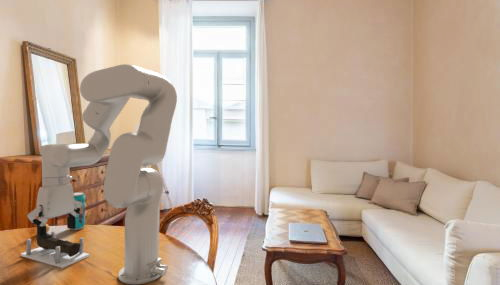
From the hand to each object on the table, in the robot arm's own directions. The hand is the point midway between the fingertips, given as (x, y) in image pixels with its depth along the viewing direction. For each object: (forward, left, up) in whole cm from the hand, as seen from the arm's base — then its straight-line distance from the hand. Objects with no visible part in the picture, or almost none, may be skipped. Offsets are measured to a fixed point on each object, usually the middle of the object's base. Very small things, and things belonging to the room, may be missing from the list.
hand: (57, 232), depth 93 cm
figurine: (+24, -11, -8) cm, 28 cm away
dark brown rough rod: (+1, +1, -6) cm, 6 cm away
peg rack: (+1, 0, -8) cm, 8 cm away
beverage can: (+19, -21, -8) cm, 30 cm away
